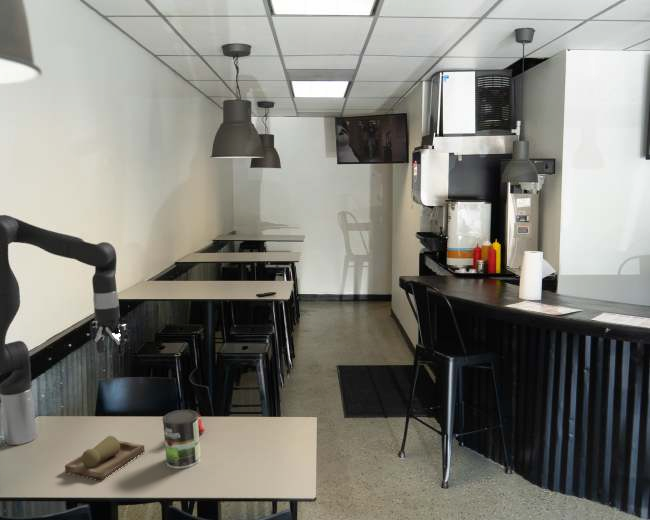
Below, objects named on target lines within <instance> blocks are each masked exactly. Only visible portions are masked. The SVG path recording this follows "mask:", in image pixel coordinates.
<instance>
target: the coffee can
mask: <svg viewBox="0 0 650 520" xmlns="http://www.w3.org/2000/svg"><path fill="white" fill-rule="evenodd" d="M198 415H199V414H198V412H197V411H195V410H193V409H178V410H173V411H170V412H168V413H166V414H165V415H164V416H163V417H162V420H161V421H162V424H163V433H164V447H165V458H166V462H165V463H166V465H167V467H169V468H171V469H175V470H176V469H177V470H179V469H187V468H191V467H193V466H195V465H197V464H198V463H199V462H201V459H202V458H201V457H202V455H201V446H200V445H201V444H200V435H199V429H198V420H199V419H198V418H199V416H198Z"/></svg>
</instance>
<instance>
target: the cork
mask: <svg viewBox="0 0 650 520" xmlns="http://www.w3.org/2000/svg"><path fill="white" fill-rule="evenodd" d="M119 441H120V440H118V438H116V437H115V436H112V435H108V436H107V437H105V438H104V439H103V440H101V441H100V442H99V443H98V444H97V445H95V446H93V448H89V449H86V450H85V451H83V453H82V455H81V456H82V462H83V464H84V465H85V466H86V467H94V466H96V465H97V464H98V463H99V461H102V460H104V459H106V458H109V457H111V456H114V455H116V454H118V453H119V451H120V444H119Z"/></svg>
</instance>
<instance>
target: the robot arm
mask: <svg viewBox="0 0 650 520" xmlns="http://www.w3.org/2000/svg"><path fill="white" fill-rule="evenodd" d="M11 243H20V244H27V245H31V246H35V247H37V248H39V249H41V250H43V251H45V252H47V253H49V254H52V255H54V256H58V257H63V258H67V259H71V260H75V261H78V262H80V263H82V264H85V265H88V266H90V267H94V268H95V270H94V274H93V276H92V279H91V281H92V282H91V283H92V291H93V297H92V299H93V311H94V320H93V321H90V322H89V332H90V339H91V341H92V340H93V341H95V344H96V350H97V353H99V354H101V353H105V342H104V338H105V337H109V338H112V340H113V341H115V342H116V344H117V345H116V349H117V350H116V351H117V352H116V353H117V356H118V357H122V356H123V355H125V352H126V349H125V344H126V343H127V342H129V341H130V335H129V328H128V324H127V323H122V324H120V321H119V320H120V318H121V314H120V313H121V312H120V303H119V294H118V290H117V280H116V272H117V252H116V249H115V247H114V246H113V244H111V243H110V242H103V241H102V242H99V243H97V244H96V243H90V242H87V241H85V240H84V239H83V238H81V237H77V236H75V235H69V234H64V233H61V232H56V231H53V230H48V229H45V228H41V227H39V226H37V225H33V224H30V223H28V222H26V221H23V220H21V219H18V218H16V217H13V216H11V215H7V214H0V375H4V374H8V373H11V374H10V376H9V377H8V378H6V379H5V380H2V382H0V404H1V405H0V406H1V412H2V413H1V415H0V416H1V424H2V432H3V438H4V442H6V444H7V445H11V446H18V445H23V444H27V443H30V442H32V441H33V440H35V439H36V438H38V432H37V423H36V416H35V415H36V414H35V406H34V400H33V399H34V398H33V391H32V385H31V384H32V383H31V382H32V372H31V359H30V357H31V356H30V351H29V347H28V346H27V344H26V343H25V342H24V341H22V340H16V341H11V342H7V343H6V338H7V333H8V330H9V328H10V326H11V324H12V322H13V321H14V319H15V317H16V315H17V314H18V311H19V310H20V305H21V295H20V293H21V291H20V287H19V286H20V285H19V281H18V279H17V277H16V275H15V273H14V271H13V270H12V268H11V264H10V262H9V244H11Z"/></svg>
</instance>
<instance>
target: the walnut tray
mask: <svg viewBox="0 0 650 520" xmlns="http://www.w3.org/2000/svg"><path fill="white" fill-rule="evenodd" d="M118 441H119V444H120V451H119V453H118V454H116V455H114V456H111V457H109V458H106V459H104V460H102V461H99V463H98V464H97V465H96V466H94V467H86V466H85V465H84V464H83V462H82V455H80V456H79V457H77V458H75V459H73V460H72V461H69V462H68V463H66V464H65V465H64V469H65V474H68V473H70V474H69V475H72V474H75V475H74V476H76V475H79V476H78V477H81V476H84V477H83V478H85V477H88V478H87V479H90V478H92V479H91V480H94V479H96V480H95V481H98V480H101V481H100V482H103V481H104V479H105V478H106V477H108V476H109V475H111V474H112V473H113V472H115V471H116V470H118V469H119V468H121V467H122V466H124V465H125V464H127V463H128V462H130V461H131V460H133V459H134V458H135V457H137V456H138V455H140V454H141V453H143V452H145V445H142V444H139V443H133V442H127V441H123V440H118ZM133 461H134V460H133ZM130 463H131V462H130ZM127 465H128V464H127ZM124 467H125V466H124ZM121 469H122V468H121ZM118 471H119V470H118ZM115 473H116V472H115ZM112 475H113V474H112ZM112 475H111V476H112ZM109 477H110V476H109ZM109 477H108V478H109ZM106 479H107V478H106ZM106 479H105V480H106ZM102 480H103V481H102Z"/></svg>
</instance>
